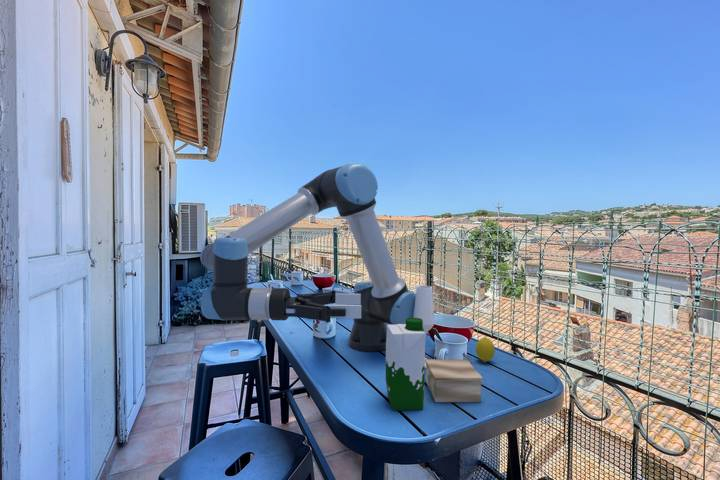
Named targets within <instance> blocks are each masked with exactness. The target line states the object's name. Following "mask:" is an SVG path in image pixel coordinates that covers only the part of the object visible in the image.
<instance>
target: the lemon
mask: <svg viewBox="0 0 720 480" xmlns="http://www.w3.org/2000/svg"><path fill="white" fill-rule="evenodd" d="M475 353H476V355H477V357H478V359H480V360H481V361H482V362H483V363H487V362H490V361H492V359H494V357H495V353H496V351H495V346H494V342H493V341H492V340H490V339H489V338H487V336H484V337H482V338H480V339H479V340H478V341H477V342H476V346H475Z"/></svg>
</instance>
